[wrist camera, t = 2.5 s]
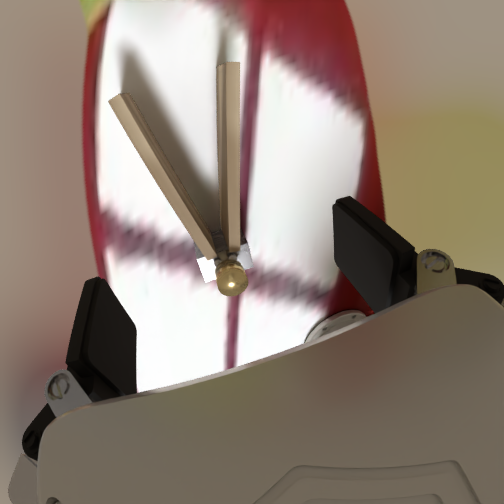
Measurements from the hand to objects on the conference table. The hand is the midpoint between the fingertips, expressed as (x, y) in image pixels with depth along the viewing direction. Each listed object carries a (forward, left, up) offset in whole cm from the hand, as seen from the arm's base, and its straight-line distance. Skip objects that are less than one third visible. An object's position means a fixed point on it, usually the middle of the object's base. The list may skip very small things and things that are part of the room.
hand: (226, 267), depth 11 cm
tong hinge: (0, +10, -18) cm, 21 cm away
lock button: (0, +10, -13) cm, 17 cm away
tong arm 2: (+3, 0, -18) cm, 18 cm away
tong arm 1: (-3, 0, -18) cm, 18 cm away
